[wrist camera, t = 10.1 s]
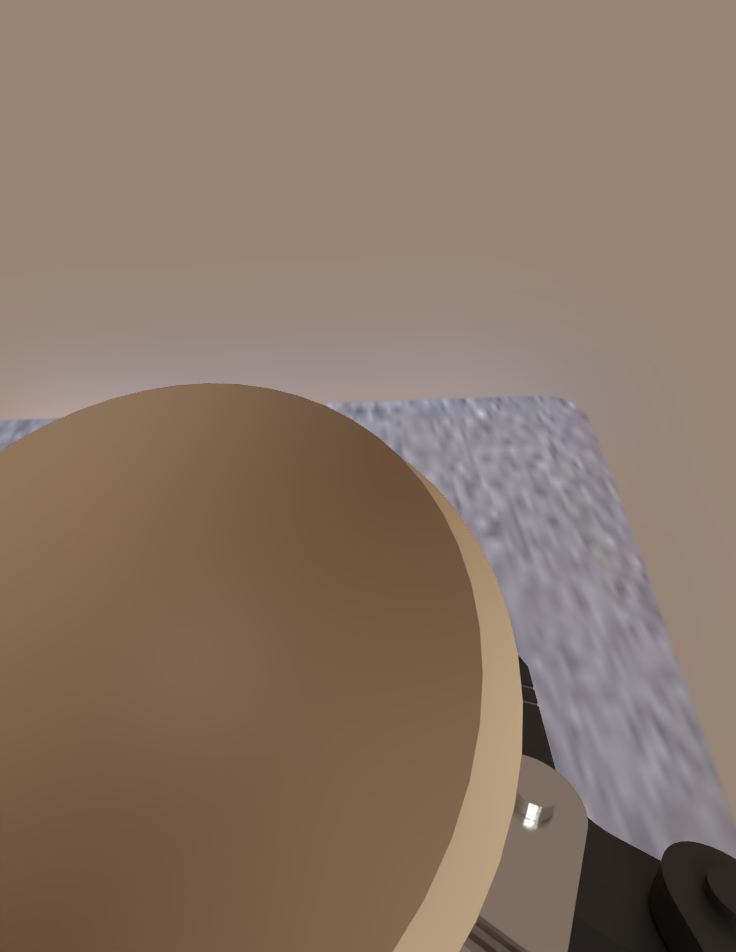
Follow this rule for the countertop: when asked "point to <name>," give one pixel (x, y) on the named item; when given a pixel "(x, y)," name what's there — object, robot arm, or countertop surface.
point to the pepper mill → (244, 686)
